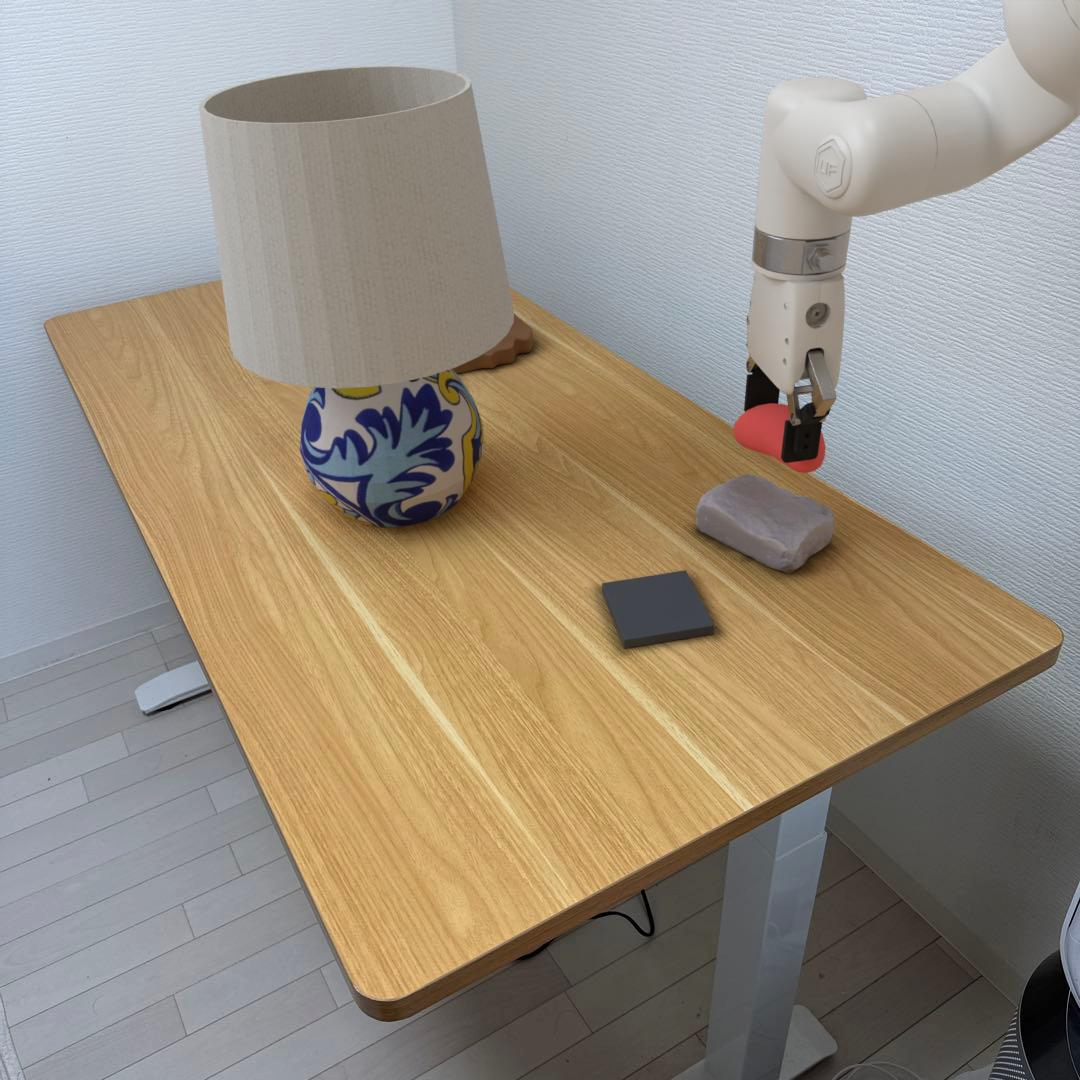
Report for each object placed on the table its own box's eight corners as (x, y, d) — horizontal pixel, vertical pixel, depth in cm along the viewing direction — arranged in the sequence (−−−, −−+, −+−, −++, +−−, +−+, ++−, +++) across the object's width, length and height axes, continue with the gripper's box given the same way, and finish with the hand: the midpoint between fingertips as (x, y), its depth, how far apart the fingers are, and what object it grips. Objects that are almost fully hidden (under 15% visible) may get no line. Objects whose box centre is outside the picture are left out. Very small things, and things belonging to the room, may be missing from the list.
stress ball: (784, 442, 95) (755, 389, 92) (849, 449, 86) (820, 392, 84) (748, 475, 93) (718, 423, 91) (810, 485, 85) (780, 428, 83)
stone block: (744, 505, 102) (684, 529, 95) (754, 464, 99) (694, 486, 93) (840, 556, 95) (783, 584, 88) (854, 513, 92) (796, 539, 86)
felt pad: (685, 578, 89) (686, 569, 89) (713, 634, 83) (714, 625, 82) (601, 591, 89) (601, 583, 88) (624, 648, 82) (624, 640, 82)
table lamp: (288, 440, 114) (203, 73, 91) (515, 419, 116) (488, 52, 92) (257, 580, 92) (133, 143, 69) (537, 552, 94) (510, 114, 70)
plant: (366, 334, 138) (354, 258, 132) (491, 306, 145) (485, 232, 138) (411, 389, 124) (399, 306, 117) (548, 356, 130) (544, 275, 123)
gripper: (894, 280, 72) (860, 477, 82) (800, 211, 85) (781, 387, 96) (798, 291, 71) (776, 490, 81) (719, 220, 85) (708, 397, 95)
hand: (779, 434), depth 88 cm, fingers closed on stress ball, 8 cm apart
